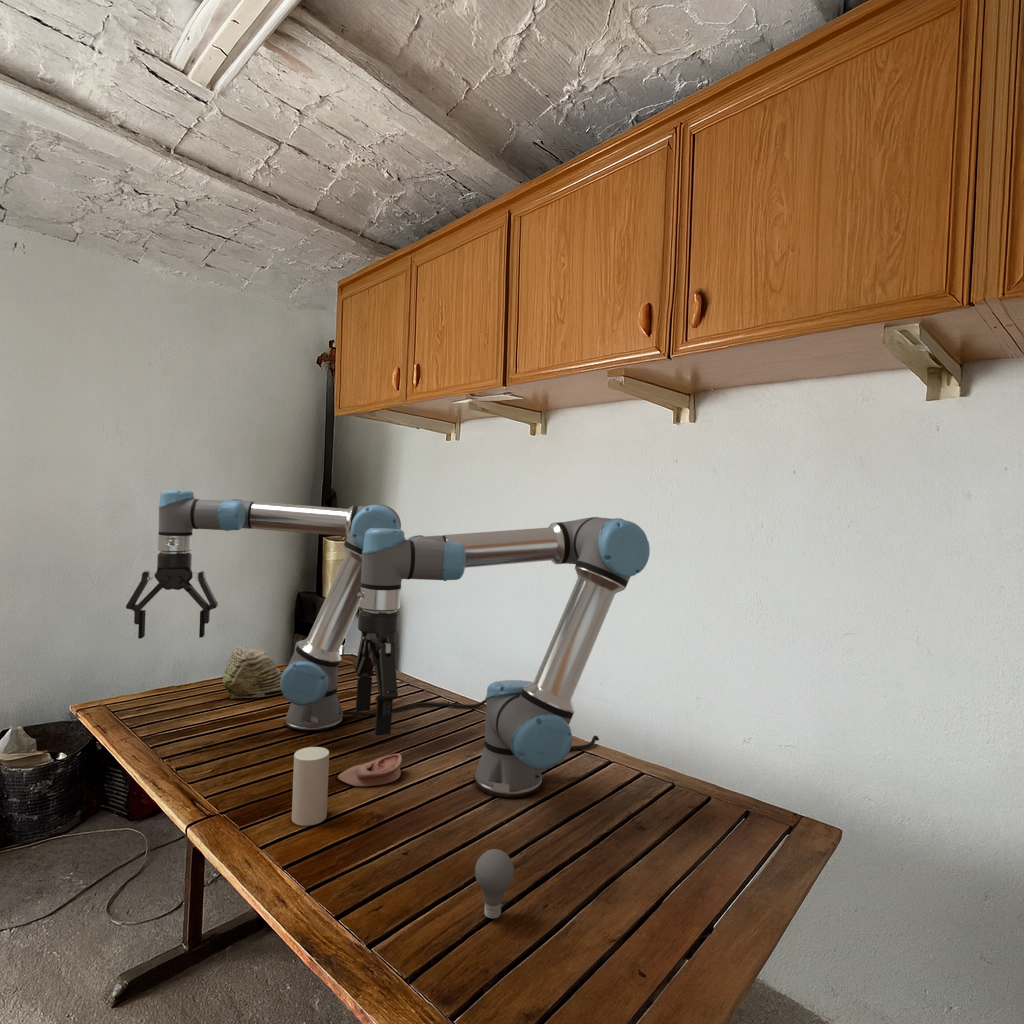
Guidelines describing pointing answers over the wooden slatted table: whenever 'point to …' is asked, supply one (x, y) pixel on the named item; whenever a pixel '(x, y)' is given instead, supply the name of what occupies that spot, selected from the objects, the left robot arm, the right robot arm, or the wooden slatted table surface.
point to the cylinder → (310, 786)
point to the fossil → (251, 674)
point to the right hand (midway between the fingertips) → (372, 722)
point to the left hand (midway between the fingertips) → (172, 637)
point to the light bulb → (494, 879)
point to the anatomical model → (373, 772)
